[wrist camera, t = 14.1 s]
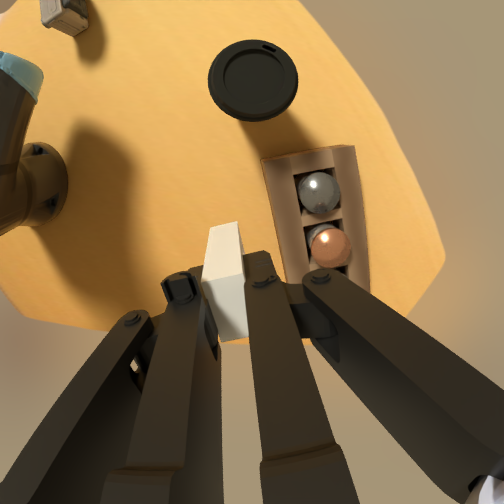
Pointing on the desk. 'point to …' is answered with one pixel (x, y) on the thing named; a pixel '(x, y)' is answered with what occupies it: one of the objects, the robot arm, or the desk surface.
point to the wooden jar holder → (296, 217)
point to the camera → (64, 15)
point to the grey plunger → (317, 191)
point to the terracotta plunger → (327, 244)
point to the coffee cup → (253, 80)
